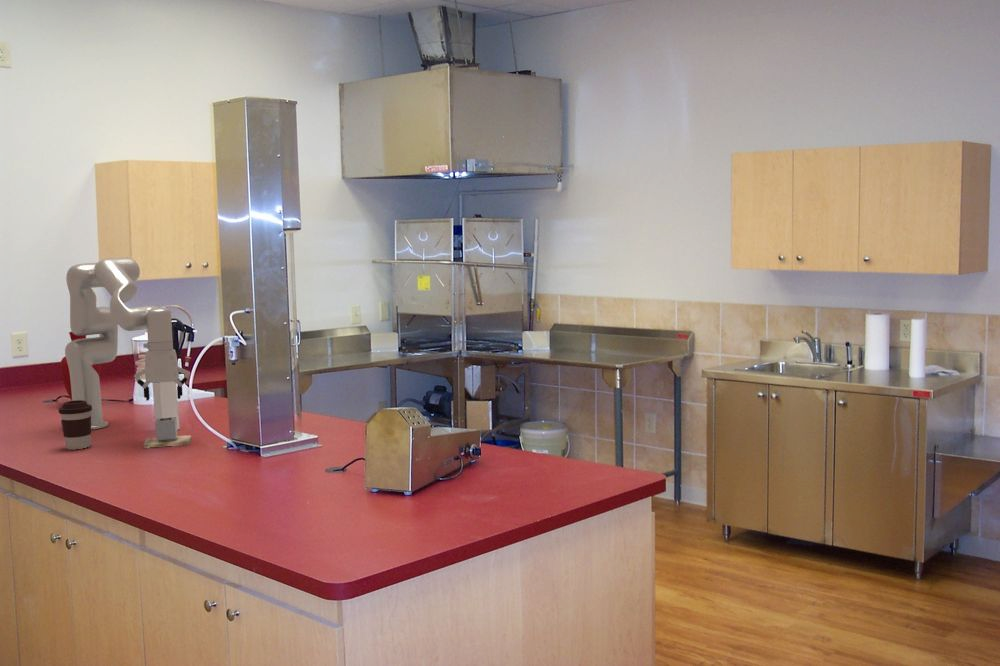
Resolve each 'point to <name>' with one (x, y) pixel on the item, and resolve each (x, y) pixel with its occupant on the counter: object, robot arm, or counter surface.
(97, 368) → the vase
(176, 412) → the milk
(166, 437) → the gray rounded cube
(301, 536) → the counter surface
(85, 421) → the coffee cup
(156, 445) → the shaft stand
